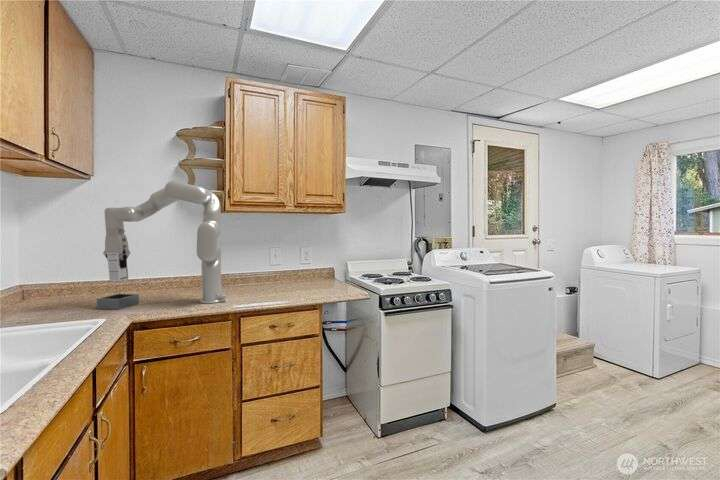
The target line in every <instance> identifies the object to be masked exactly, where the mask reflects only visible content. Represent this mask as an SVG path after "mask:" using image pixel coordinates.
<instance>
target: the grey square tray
mask: <svg viewBox="0 0 720 480" xmlns="http://www.w3.org/2000/svg"><path fill="white" fill-rule="evenodd" d="M139 304H140V296H139V294H137V293H136V294H135V293H115V294H112V295H111V294H110V295H107V296H104V297H98V298H96V309H97V310H111V311H112V310H114V311H115V310H117V311H119V310H122V309H123V310H124V309H125V308H129V307H133V306H136V305H139Z"/></svg>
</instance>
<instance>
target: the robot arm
mask: <svg viewBox="0 0 720 480" xmlns="http://www.w3.org/2000/svg"><path fill="white" fill-rule="evenodd" d="M148 198H149V199H148V200H146V201H144V202H143V203H141V204H139V205H137V206H124V207H123V206H121V207H106V208H104V222H105V224H104V225H105V237H104V239H105V240H104V249H105V250H103V252H102V255H104V257H105V258H106V260H107V261H108V258H107V253H113V252H115V253H118V254H119V257H120V259H121V260H120V268H126V267H127V268H128V263H127V264H126V260H127V261H128V258H129V256H130V254H131V251H130V249H129V242H128V237H127V235H126V234H125V232H126V231H125V226H124V225H125V224H124V222H125V223H126V222H128V223H129V222H130V223H133V222H135V223H137V222H140V221H142V220H145V219H147V218H149V217H151V216H153V215H154V214H157V213H158V212H159V211H161V210H162V209H164V208H166V207H168V206H170V205H172V204H174V203H176V202H178V201H180V200H181V201H185V202H190V203H193V204H196V205H197V204H198V205H202V206H203V212H202V217H203V218H202V222H201V224H200V225H199V226H198V228H197V233H196V235H197V236H196V255H197V258H198V259H200V260H201V292H202V298H200V299H199V303H200V304H216V303H221V302H224V301H226V299H228V297H229V294H228V293H227V294H226V293H224V291H223V290H222V250H221V247H220V245H219V244H218V237H219V236H220V234H221V214H222V213H221V211H222V210H221V201H220V200H219V197H218V196H217V195H216V194H215V193H214V192H212V191H210V190H209V189H207V188H204V187H200V186H197V185H192V184H190V183H189V184H188V183H185V182H182V181H178V180H170V181H168V182H167V183H165V186H164V187H163V188H161V189H159V190H157V191H154V192H153V193H151V195H150V197H148ZM122 253H123V254H122ZM122 255H123V256H122Z"/></svg>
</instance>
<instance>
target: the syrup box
mask: <svg viewBox="0 0 720 480" xmlns="http://www.w3.org/2000/svg"><path fill="white" fill-rule="evenodd" d="M122 254H123V253H122ZM122 256H123V255H122ZM107 258H108V260H107V267H108V275H109V282H121V281H122V282H123V281H127V280H129V271H128V266H127V267H126V268H120V260H121V259H120V257H119V254H118V253H115V252H113V253H107ZM107 258H106V259H107ZM126 264H127V265H128V259H127V260H126Z"/></svg>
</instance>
